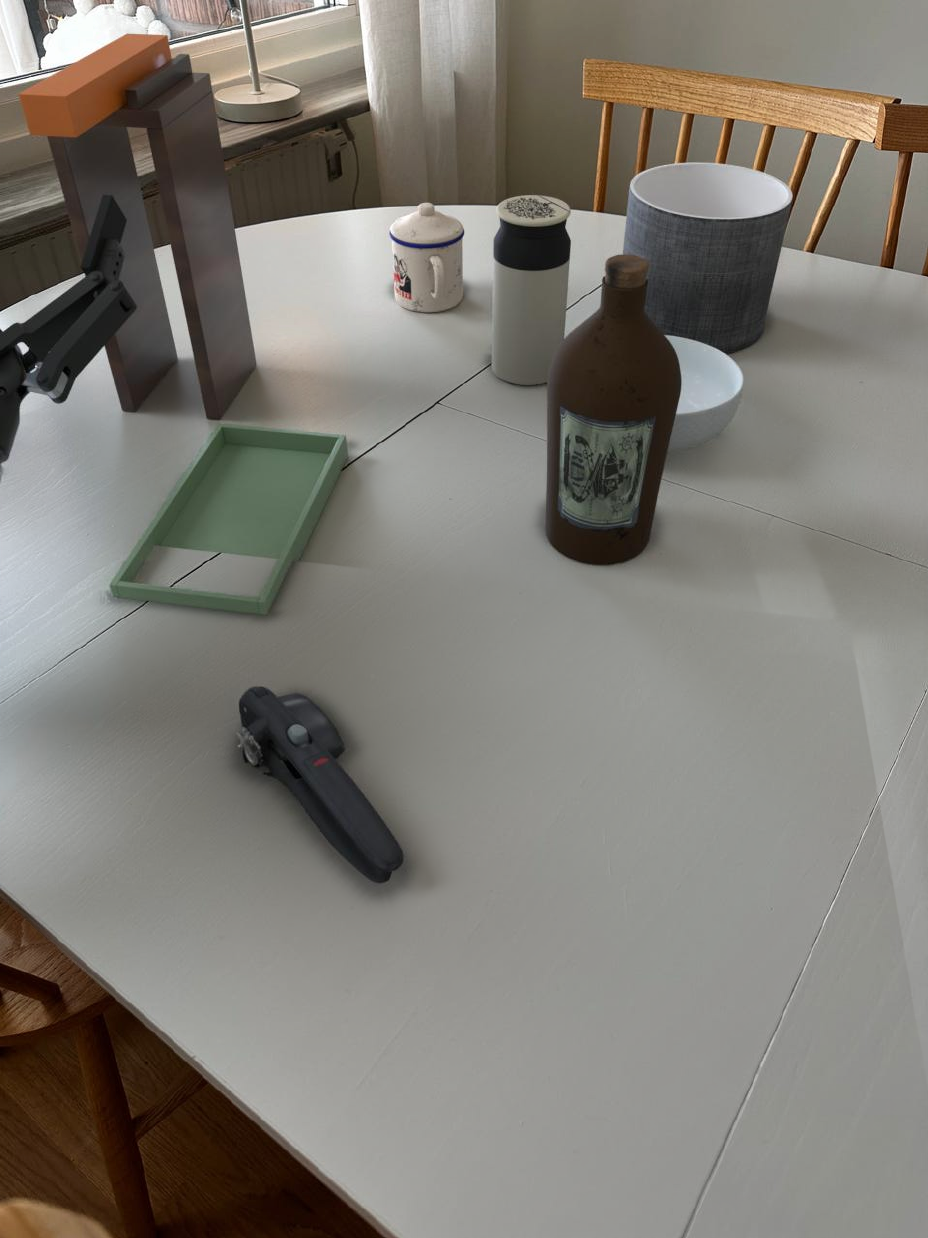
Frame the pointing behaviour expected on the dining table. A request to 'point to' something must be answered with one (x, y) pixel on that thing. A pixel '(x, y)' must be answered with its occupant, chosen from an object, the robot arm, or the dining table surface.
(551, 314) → the travel mug
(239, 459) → the tray
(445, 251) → the teacup with lid
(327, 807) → the can opener
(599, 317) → the olive oil
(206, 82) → the tall brown stand
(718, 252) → the planter
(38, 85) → the orange rectangular bar
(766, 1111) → the dining table surface
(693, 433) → the cereal bowl
